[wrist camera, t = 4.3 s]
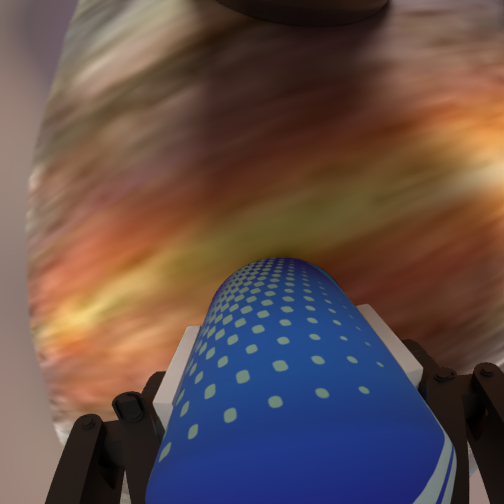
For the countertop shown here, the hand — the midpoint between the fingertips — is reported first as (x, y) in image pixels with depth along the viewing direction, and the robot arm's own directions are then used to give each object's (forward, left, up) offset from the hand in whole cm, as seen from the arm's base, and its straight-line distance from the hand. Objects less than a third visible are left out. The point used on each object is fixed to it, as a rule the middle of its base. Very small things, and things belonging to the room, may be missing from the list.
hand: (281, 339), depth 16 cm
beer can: (0, 0, -3) cm, 3 cm away
